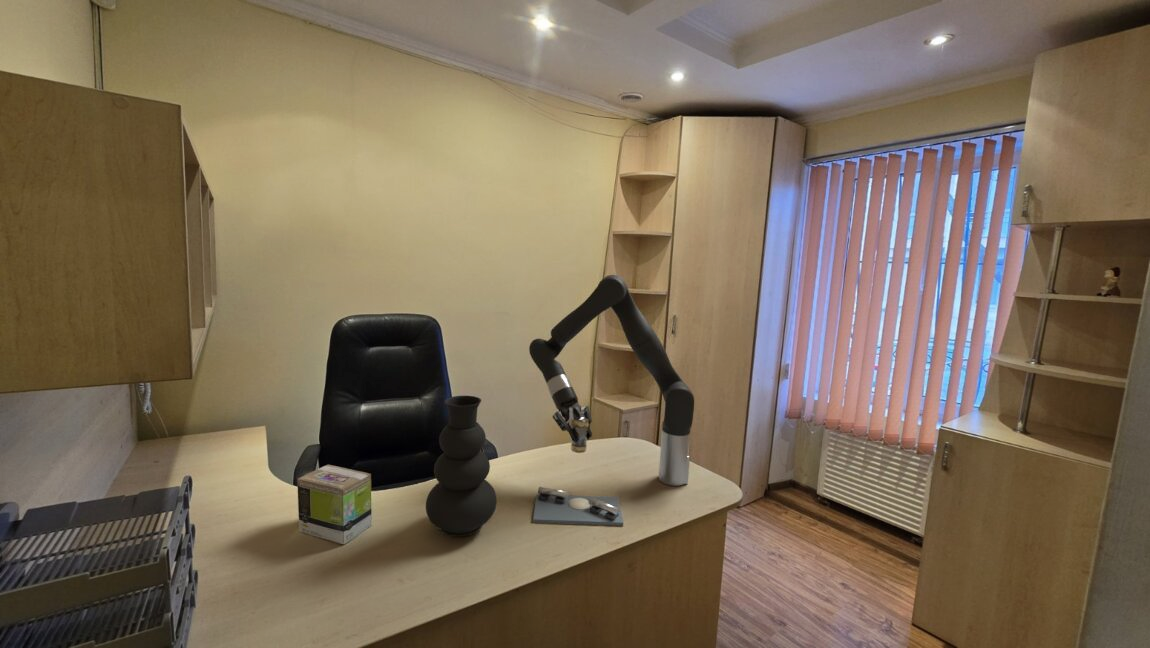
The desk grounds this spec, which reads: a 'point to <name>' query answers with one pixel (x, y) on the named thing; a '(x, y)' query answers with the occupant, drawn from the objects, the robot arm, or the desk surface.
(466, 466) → the vase
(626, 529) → the desk surface
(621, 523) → the board
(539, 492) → the shaft
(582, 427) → the banded tin drum
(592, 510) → the shaft
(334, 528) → the tea box
